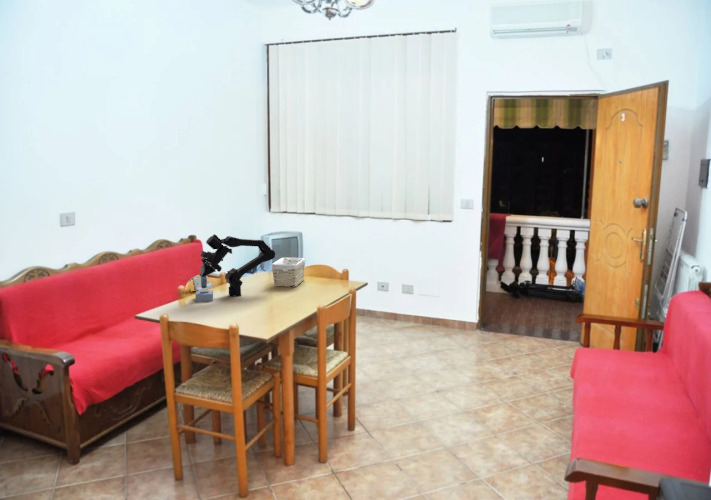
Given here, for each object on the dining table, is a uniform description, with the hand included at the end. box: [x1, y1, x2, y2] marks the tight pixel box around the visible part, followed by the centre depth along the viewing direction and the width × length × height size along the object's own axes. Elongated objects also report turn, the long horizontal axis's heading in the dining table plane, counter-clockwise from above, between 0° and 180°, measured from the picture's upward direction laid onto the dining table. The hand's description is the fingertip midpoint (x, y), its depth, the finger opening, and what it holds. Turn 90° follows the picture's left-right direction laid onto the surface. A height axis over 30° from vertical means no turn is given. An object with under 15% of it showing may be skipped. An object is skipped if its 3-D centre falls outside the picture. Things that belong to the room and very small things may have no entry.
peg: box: [199, 264, 207, 288], centre depth 308 cm, size 3×3×12 cm
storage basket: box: [271, 257, 306, 287], centre depth 350 cm, size 24×16×15 cm
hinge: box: [188, 274, 214, 292], centre depth 334 cm, size 17×5×10 cm, turn 164°
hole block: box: [195, 289, 214, 303], centre depth 310 cm, size 9×9×4 cm
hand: (201, 276), depth 307 cm, fingers closed on peg, 3 cm apart
